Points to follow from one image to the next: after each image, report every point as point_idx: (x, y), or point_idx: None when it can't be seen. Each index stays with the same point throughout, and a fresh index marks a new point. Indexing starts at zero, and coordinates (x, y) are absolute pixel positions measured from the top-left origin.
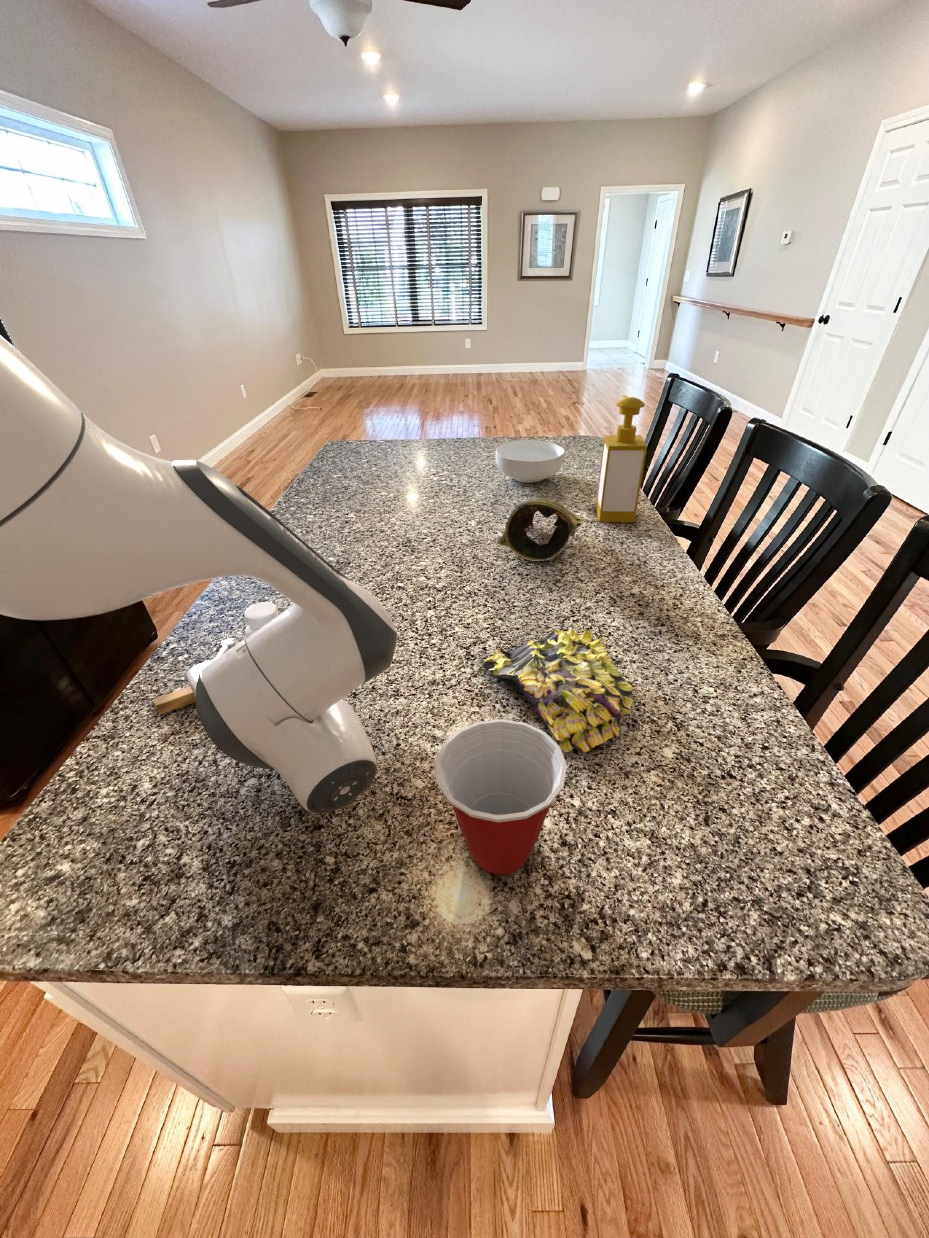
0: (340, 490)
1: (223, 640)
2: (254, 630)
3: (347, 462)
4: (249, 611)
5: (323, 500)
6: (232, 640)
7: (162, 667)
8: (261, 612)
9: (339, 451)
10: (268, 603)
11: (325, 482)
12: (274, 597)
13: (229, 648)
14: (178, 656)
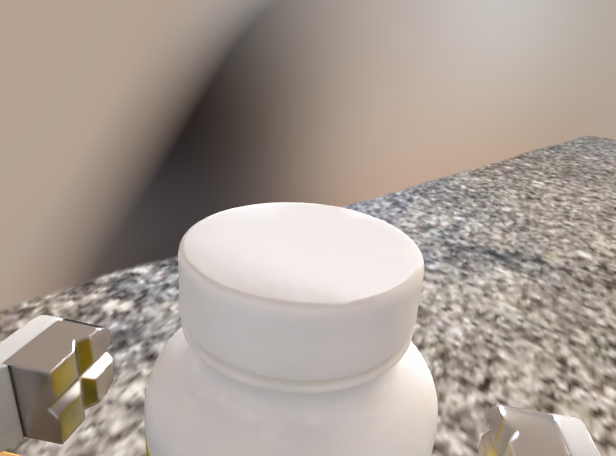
0: (598, 171)
1: (55, 318)
2: (196, 359)
3: (607, 151)
4: (241, 219)
5: (565, 173)
6: (74, 345)
7: (54, 305)
8: (296, 256)
9: (592, 141)
10: (383, 228)
11: (569, 158)
12: None
13: (14, 386)
14: (113, 297)
